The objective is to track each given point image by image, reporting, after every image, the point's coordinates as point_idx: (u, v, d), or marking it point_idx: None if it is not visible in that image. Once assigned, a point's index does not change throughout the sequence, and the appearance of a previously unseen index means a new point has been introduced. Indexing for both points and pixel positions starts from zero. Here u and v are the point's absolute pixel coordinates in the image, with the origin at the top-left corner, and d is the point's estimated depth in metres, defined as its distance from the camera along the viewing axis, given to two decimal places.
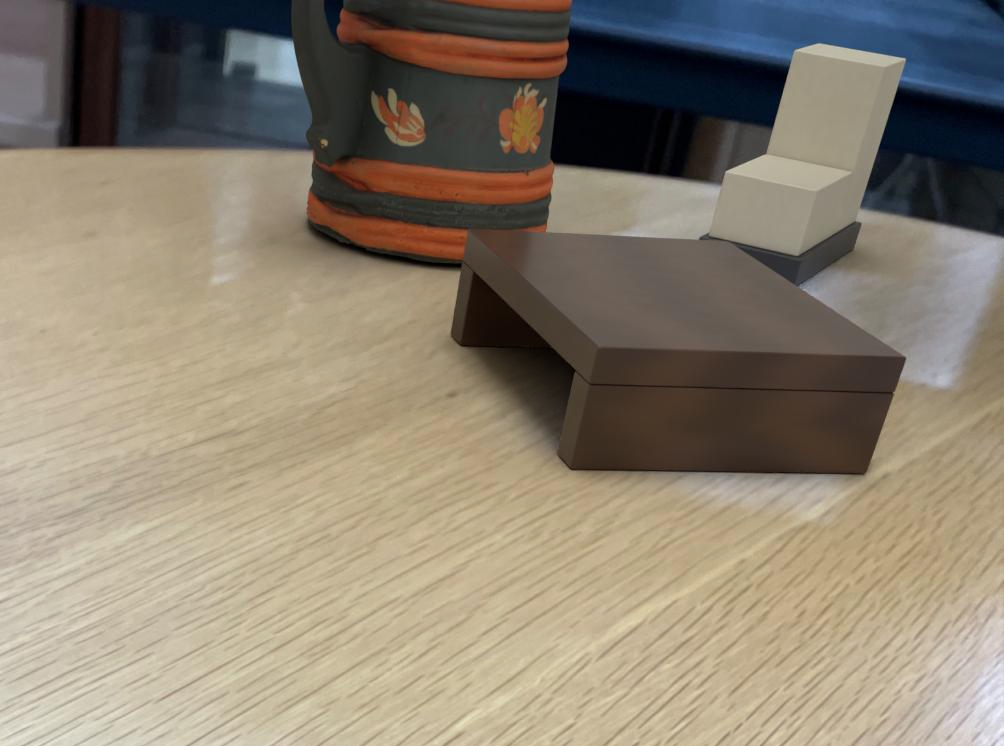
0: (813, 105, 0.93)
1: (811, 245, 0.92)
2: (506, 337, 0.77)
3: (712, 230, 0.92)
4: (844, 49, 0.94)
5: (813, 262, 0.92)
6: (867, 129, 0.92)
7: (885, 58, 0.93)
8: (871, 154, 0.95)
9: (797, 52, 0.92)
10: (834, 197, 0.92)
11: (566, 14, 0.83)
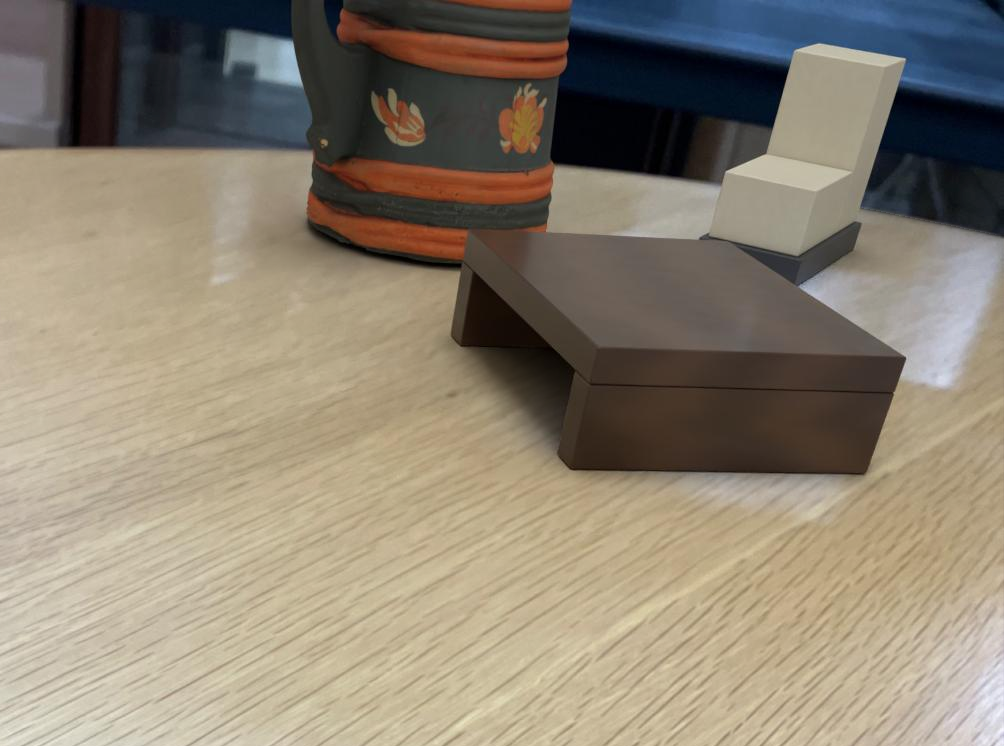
0: (813, 105, 0.93)
1: (811, 245, 0.92)
2: (506, 337, 0.77)
3: (712, 230, 0.92)
4: (844, 49, 0.94)
5: (813, 262, 0.92)
6: (867, 129, 0.92)
7: (885, 58, 0.93)
8: (871, 154, 0.95)
9: (797, 52, 0.92)
10: (834, 197, 0.92)
11: (566, 14, 0.83)
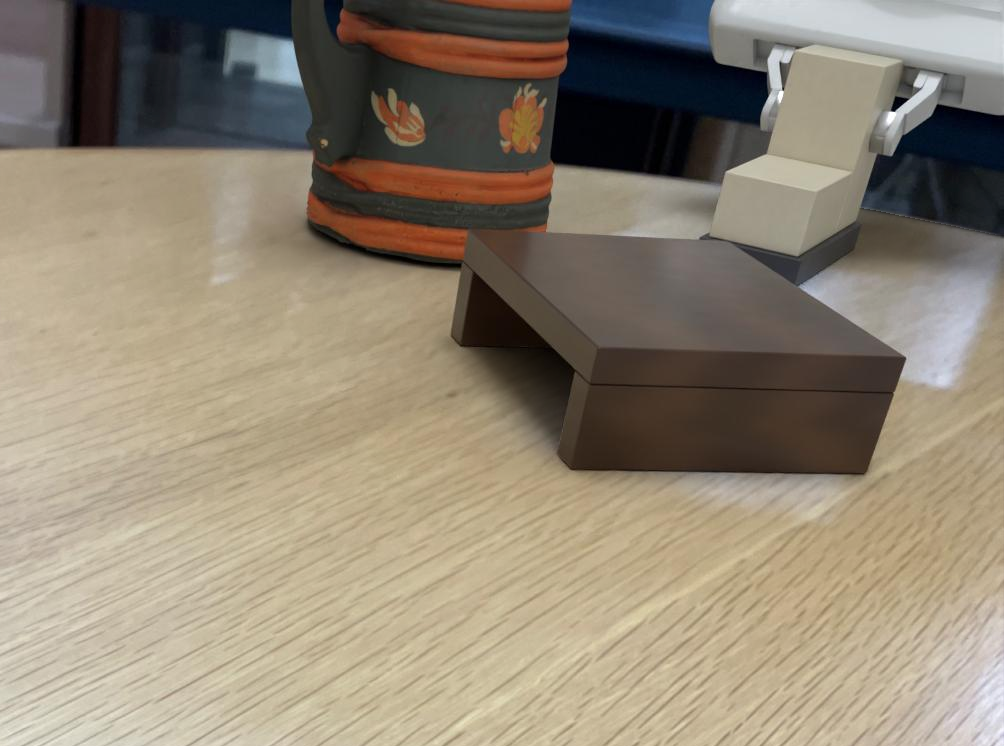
0: (814, 105, 0.93)
1: (811, 245, 0.92)
2: (506, 337, 0.77)
3: (712, 230, 0.92)
4: None
5: (813, 262, 0.92)
6: (867, 129, 0.92)
7: (885, 58, 0.92)
8: (871, 154, 0.95)
9: (797, 52, 0.92)
10: (834, 197, 0.92)
11: (566, 14, 0.83)
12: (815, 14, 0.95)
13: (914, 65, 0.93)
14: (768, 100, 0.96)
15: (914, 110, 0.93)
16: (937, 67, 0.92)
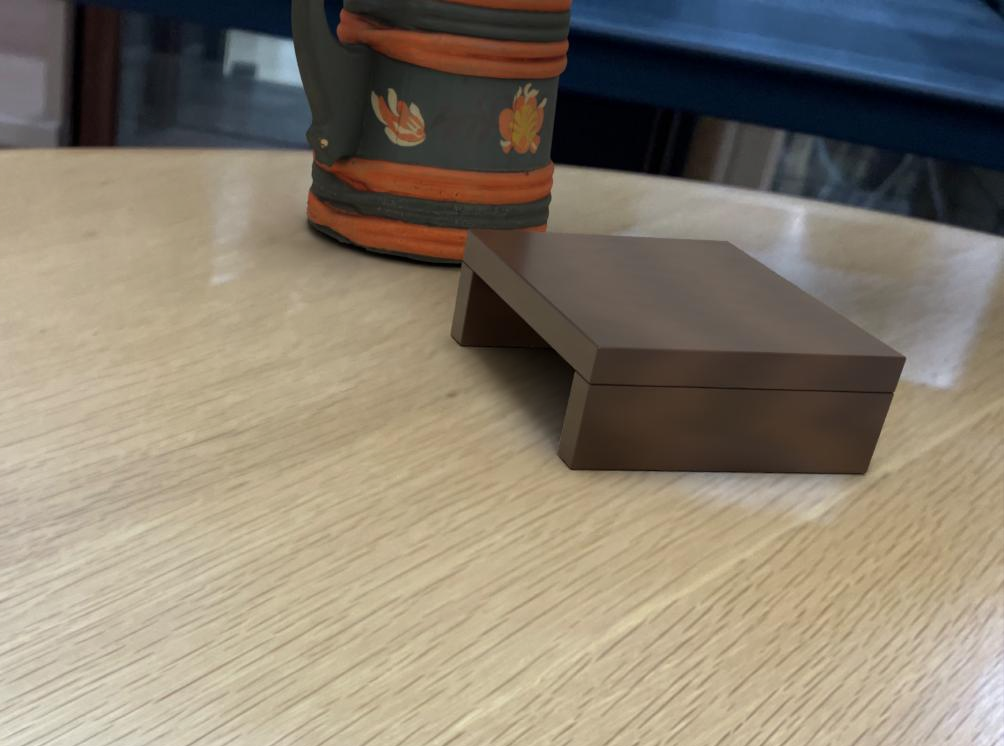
0: None
1: None
2: (506, 337, 0.77)
3: None
4: None
5: None
6: None
7: None
8: None
9: None
10: None
11: (566, 14, 0.83)
12: None
13: None
14: None
15: None
16: None
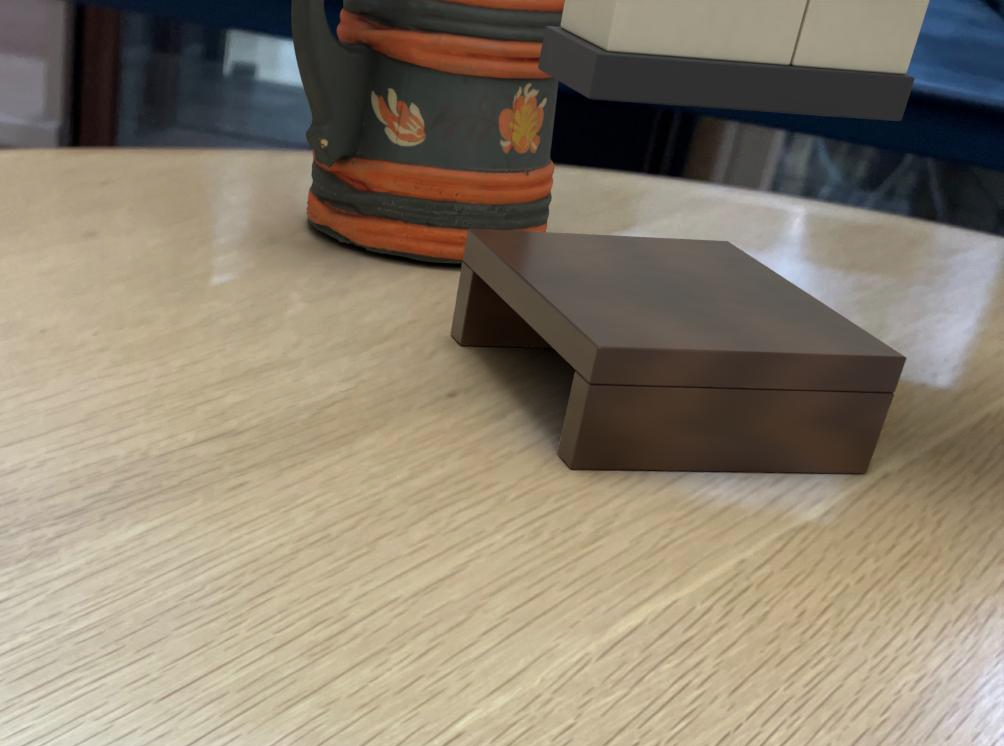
0: None
1: (671, 50, 0.60)
2: (506, 337, 0.77)
3: (562, 17, 0.64)
4: None
5: (671, 78, 0.61)
6: None
7: None
8: None
9: None
10: None
11: None
12: None
13: None
14: None
15: None
16: None
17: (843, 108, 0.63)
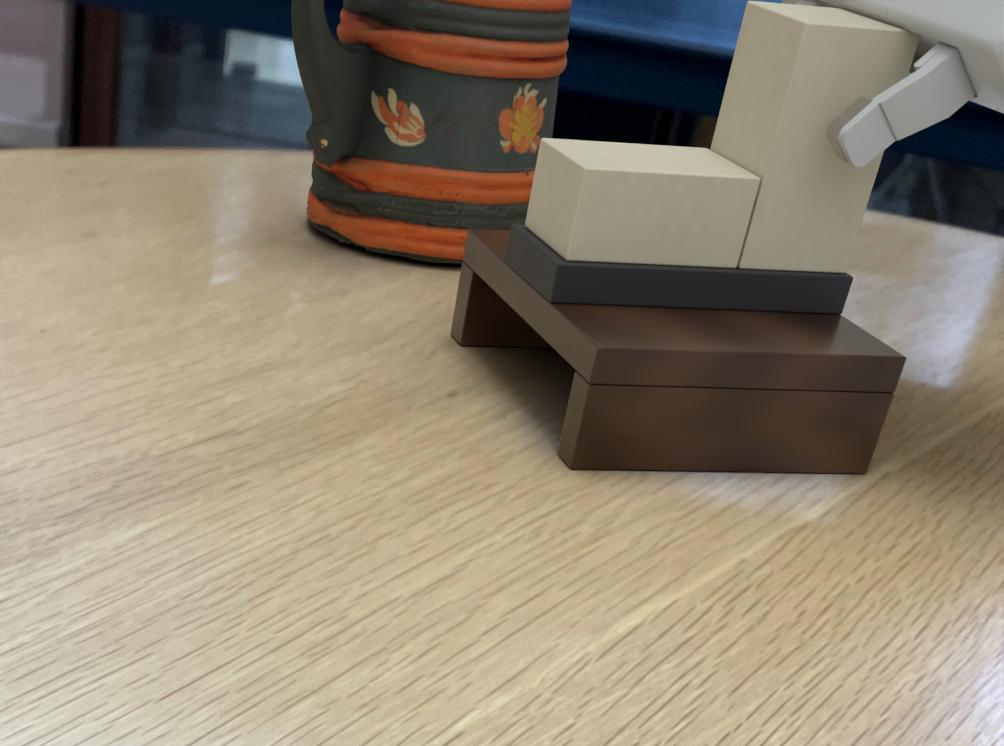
0: (749, 80, 0.65)
1: (625, 258, 0.65)
2: (506, 337, 0.77)
3: (526, 218, 0.69)
4: (857, 14, 0.64)
5: (626, 283, 0.65)
6: (786, 117, 0.63)
7: (873, 24, 0.62)
8: (844, 168, 0.64)
9: (748, 4, 0.65)
10: (690, 201, 0.64)
11: (566, 14, 0.83)
12: None
13: (914, 30, 0.61)
14: None
15: (896, 100, 0.60)
16: (932, 32, 0.60)
17: (787, 305, 0.67)
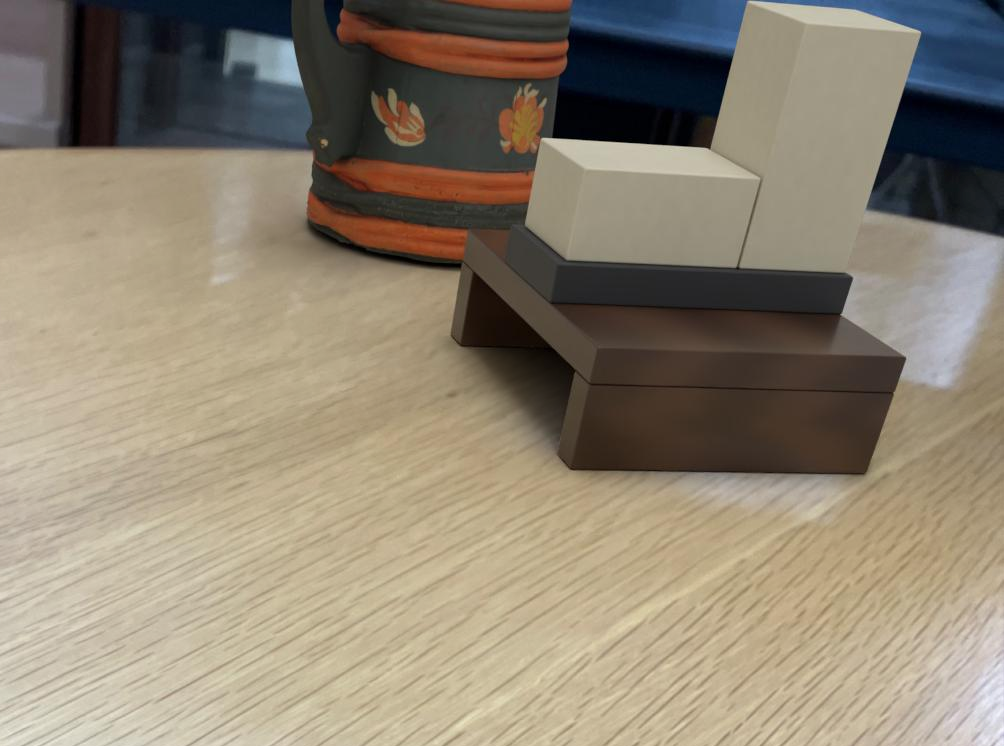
0: (749, 80, 0.65)
1: (625, 258, 0.65)
2: (506, 337, 0.77)
3: (526, 218, 0.69)
4: (857, 14, 0.64)
5: (626, 283, 0.65)
6: (786, 117, 0.63)
7: (873, 24, 0.62)
8: (844, 168, 0.64)
9: (748, 4, 0.65)
10: (690, 201, 0.64)
11: (566, 14, 0.83)
12: None
13: None
14: None
15: None
16: None
17: (787, 305, 0.67)
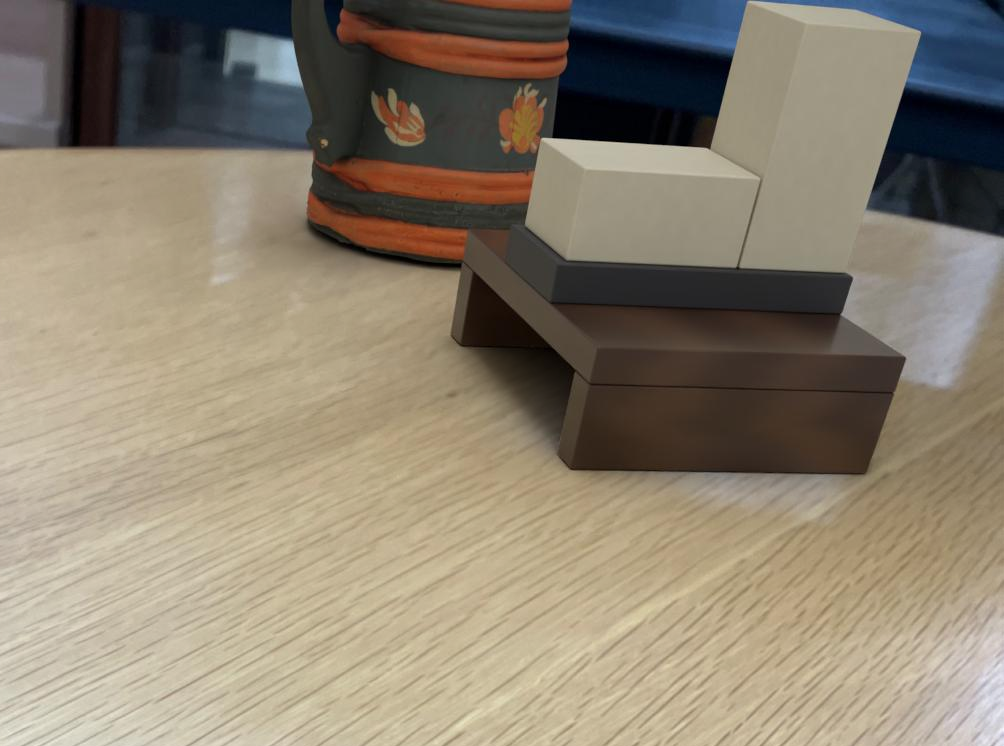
0: (749, 80, 0.65)
1: (625, 258, 0.65)
2: (506, 337, 0.77)
3: (526, 218, 0.69)
4: (857, 14, 0.64)
5: (626, 283, 0.65)
6: (786, 117, 0.63)
7: (873, 24, 0.62)
8: (844, 168, 0.64)
9: (748, 4, 0.65)
10: (690, 201, 0.64)
11: (566, 14, 0.83)
12: None
13: None
14: None
15: None
16: None
17: (787, 305, 0.67)
